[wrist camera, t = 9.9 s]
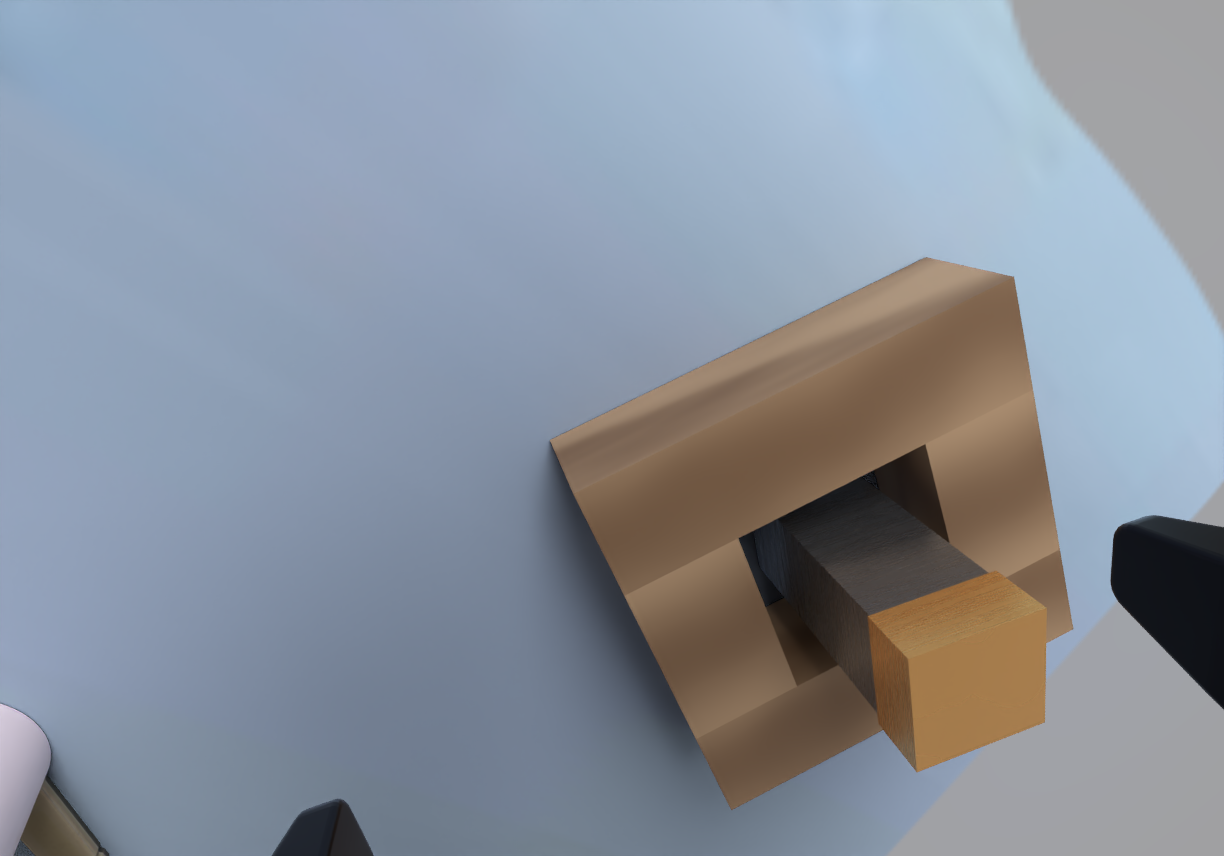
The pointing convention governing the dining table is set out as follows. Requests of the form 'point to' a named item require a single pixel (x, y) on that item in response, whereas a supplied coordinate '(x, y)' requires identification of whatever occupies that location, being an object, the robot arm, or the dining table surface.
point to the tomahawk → (58, 827)
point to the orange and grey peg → (911, 622)
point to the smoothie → (19, 773)
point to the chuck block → (815, 496)
